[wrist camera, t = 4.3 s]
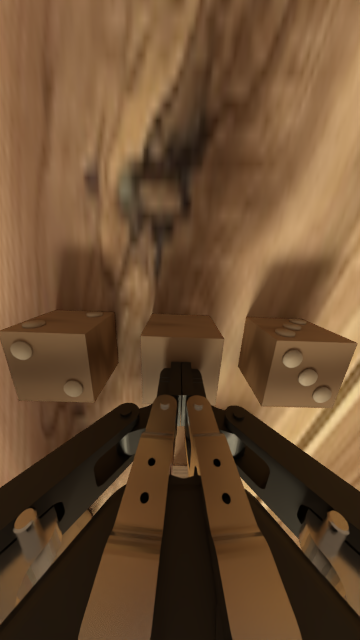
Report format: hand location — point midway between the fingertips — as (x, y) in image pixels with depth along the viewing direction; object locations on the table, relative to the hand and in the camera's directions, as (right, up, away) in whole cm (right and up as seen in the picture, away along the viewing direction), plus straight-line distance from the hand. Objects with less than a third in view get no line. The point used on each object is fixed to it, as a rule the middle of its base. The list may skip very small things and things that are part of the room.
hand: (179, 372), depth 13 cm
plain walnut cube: (0, +2, +6) cm, 6 cm away
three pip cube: (+10, +1, +6) cm, 12 cm away
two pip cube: (-10, +2, +6) cm, 11 cm away
